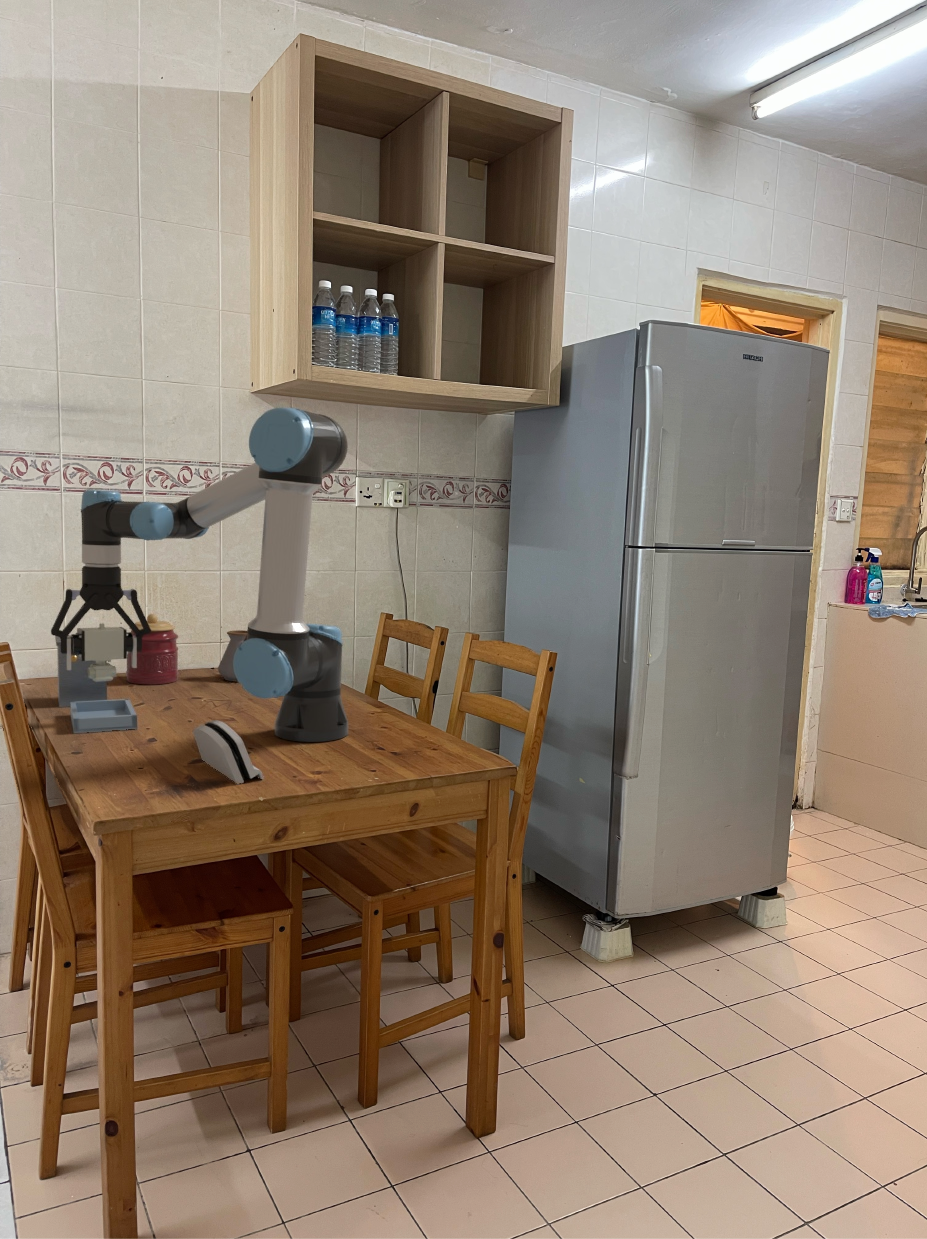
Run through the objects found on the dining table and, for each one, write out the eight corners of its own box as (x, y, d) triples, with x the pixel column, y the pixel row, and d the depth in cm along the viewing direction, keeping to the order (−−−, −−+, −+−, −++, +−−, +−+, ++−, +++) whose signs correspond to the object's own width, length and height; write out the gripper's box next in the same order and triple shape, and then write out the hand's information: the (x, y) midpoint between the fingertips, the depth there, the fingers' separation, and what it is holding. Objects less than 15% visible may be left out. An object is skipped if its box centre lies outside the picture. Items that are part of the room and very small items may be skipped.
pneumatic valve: (133, 680, 190) (133, 624, 189) (74, 684, 184) (73, 625, 182) (127, 675, 195) (127, 620, 193) (69, 679, 188) (68, 622, 187)
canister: (124, 677, 239) (123, 611, 237) (174, 675, 245) (174, 610, 243) (128, 686, 228) (127, 617, 226) (181, 684, 233) (181, 616, 231)
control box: (109, 705, 206) (108, 641, 204) (57, 707, 202) (56, 642, 200) (105, 695, 216) (105, 634, 214) (56, 698, 211) (55, 635, 210)
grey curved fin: (265, 780, 155) (247, 728, 152) (240, 793, 152) (221, 741, 149) (228, 756, 168) (210, 709, 165) (204, 768, 166) (186, 720, 162)
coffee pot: (214, 676, 246) (214, 621, 244) (256, 674, 251) (257, 620, 249) (228, 691, 227) (229, 632, 225) (274, 689, 231) (274, 631, 230)
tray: (137, 729, 185) (137, 715, 185) (73, 733, 180) (73, 719, 180) (129, 711, 201) (129, 698, 200) (70, 715, 195) (70, 701, 195)
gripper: (160, 564, 195) (160, 663, 198) (36, 563, 185) (38, 666, 187) (165, 567, 188) (164, 669, 191) (36, 565, 178) (38, 673, 181)
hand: (102, 668), depth 189 cm, fingers closed on pneumatic valve, 12 cm apart
